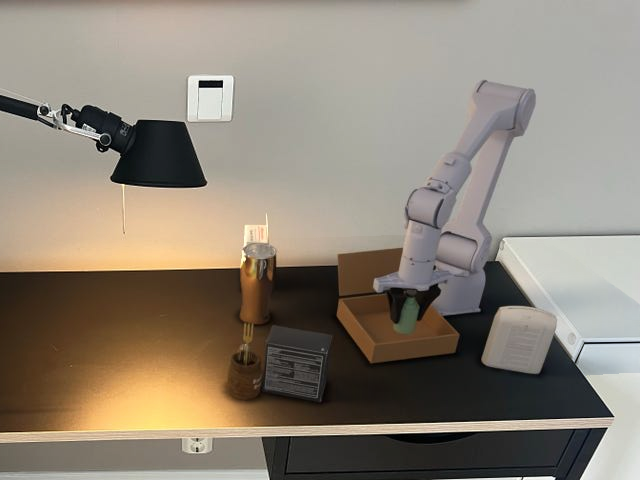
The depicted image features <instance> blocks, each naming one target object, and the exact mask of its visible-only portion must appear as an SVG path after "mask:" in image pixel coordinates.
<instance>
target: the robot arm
mask: <svg viewBox="0 0 640 480" xmlns="http://www.w3.org/2000/svg"><path fill="white" fill-rule="evenodd" d="M536 100H537V93H536V91H535V89H534V88H532V87H531V88H530V87H529V88H526V87H520V86H519V87H518V86H515V85H509V84H503V83H500V82H499V83H498V82H494V81H488V80H487V79H482V80H480V81H479V82H477V83H476V84H475V86H474V87H473V89H472V90H471V93H470V95H469V99H468V102H467V103H468V104H467V119H468V120H467V121H466V123H465V126H464V127H463V129H462V131H461V133H460V135H459V137H458V139H457V141H456V143H455V144H454V146H453V149H452V150H451V152H446V153H444V154H442V155H441V156H440V158H439V159H438V161H437V162H436V164H435V166H433V169H432V170H431V171H430V172H429V175H428V177H427V178H426V179H425V180H424V183H423V184H422V186H420V187H419V188H415V189H413V190H412V191H411V192H410V194H409V195H408V197H407V200H406V203H405V205H404V208H403V217H404V225H403V226H404V229H405V230H406V232H405V237H404V242H403V246H402V248H403V252H402V257H401V262H400V267H399V271H398V272H395V273H392V274H389V275H387V276H384V277H380V278H375V279H374V285H373V288H374V289H375V290H376V291H377V292H376V293H377V294H380V293H383V292H385V294H386V295H387V298H388V302H389V307H390V319H391V320H392V321H393V323H394V324H398V323H399V320H400V316H401V311H402V308H403V306H404V303H405V301H406V300H407V297H406V295H405V294H404V291H405V289H403V288H407V289H412V290H416V292H417V295H416V298H415V300H416V301H417V303H418V304H419V306H420V308H419V313H418V317H417V321H421V319H422V318H423V316H424V314H425V312H426V310H427V309H428V307H429V306H430V305H432V306H433V307H434V308H435V309H436V310H437V311H438V312H439V313H440V314H441V315H442V316H443V317H444V316H453V315H462V314H470V313H480V312H481V308H479V307H480V304H481V301H482V296H483V293H484V289H485V285H486V273H485V270H484V267H485V266H486V263H487V261H488V259H489V255H490V251H491V245H492V243H493V235H492V234H491V232H490V231H489V230H488V228H487V227H486V226H485V224H484V219H485V216H486V214H487V211H488V208H489V206H490V203H491V200H492V197H493V194H494V192H495V188H496V186H497V184H498V180H499V178H500V176H501V172H502V170H503V166H504V164H505V161H506V158H507V156H508V152H509V150H510V147H511V145H512V143H513V141H514V139H515V138H518V137H523V136H524V135H525V134H526V133H525V132H526V130H527V129H528V127H529V124H530V121H531V118H532V116H533V114H534V110H535V108H536V104H537V103H536ZM476 155H477V158H476V159H475V163H474V165H473V167H472V164H471V161H473V159H474V157H475V156H476ZM468 178H469V181H468V183H467V186H466V189H465V191H464V195H463V197H462V201H461V204H460V207H459V210H458V213H457V215H456V217H455V218H452V219H450V218H451V216H452V212H453V209H454V207H455V205H456V202H457V195H458V194H459V192H460V191H461V189H462V188H463V186H464V185H465V183H466V181H467V180H468ZM434 268H435V269H434ZM383 290H385V291H383Z"/></svg>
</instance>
